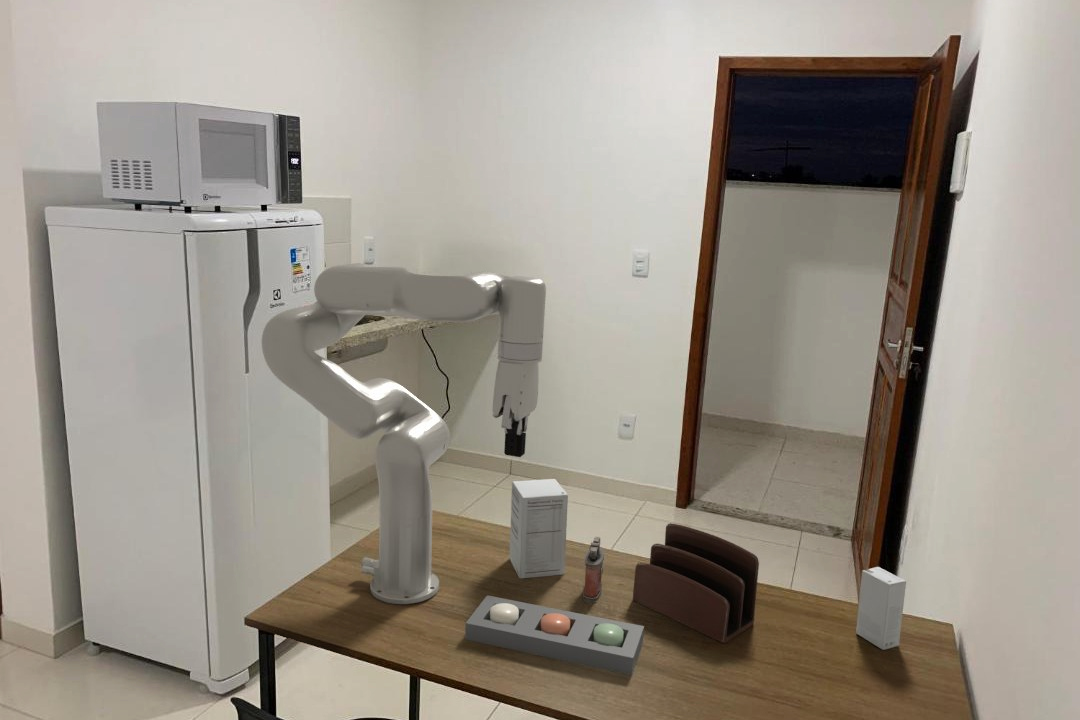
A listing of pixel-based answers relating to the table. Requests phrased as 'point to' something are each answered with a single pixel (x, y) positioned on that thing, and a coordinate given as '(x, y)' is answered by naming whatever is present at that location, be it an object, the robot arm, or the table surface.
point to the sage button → (608, 635)
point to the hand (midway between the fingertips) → (514, 454)
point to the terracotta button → (555, 624)
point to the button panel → (556, 636)
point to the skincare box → (880, 607)
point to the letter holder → (700, 582)
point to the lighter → (593, 571)
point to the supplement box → (538, 528)
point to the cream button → (504, 613)
